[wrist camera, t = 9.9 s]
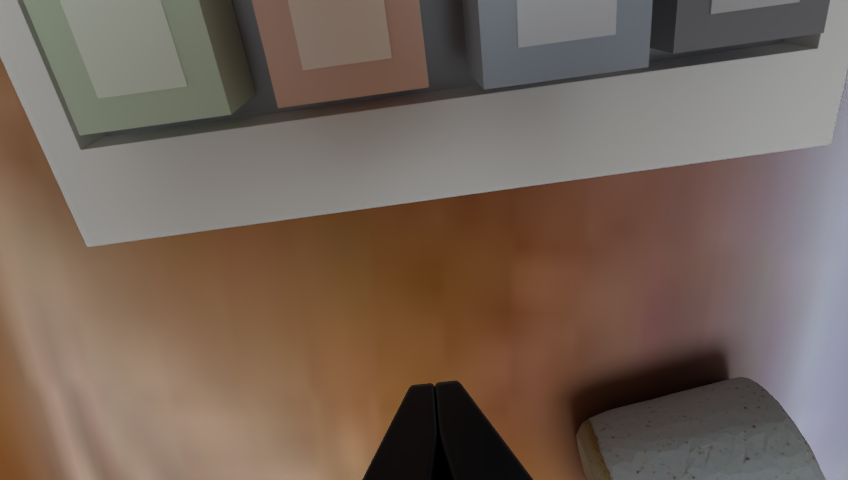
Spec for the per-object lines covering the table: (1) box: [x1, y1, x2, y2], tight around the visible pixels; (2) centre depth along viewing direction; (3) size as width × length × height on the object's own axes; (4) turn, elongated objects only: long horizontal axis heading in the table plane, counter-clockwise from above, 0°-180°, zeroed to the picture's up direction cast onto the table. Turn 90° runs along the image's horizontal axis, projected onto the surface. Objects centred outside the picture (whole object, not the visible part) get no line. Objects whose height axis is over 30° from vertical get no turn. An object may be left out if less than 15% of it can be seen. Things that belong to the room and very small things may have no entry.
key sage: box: [23, 0, 256, 135], centre depth 15 cm, size 4×4×3 cm
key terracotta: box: [252, 0, 429, 108], centre depth 15 cm, size 4×4×3 cm
